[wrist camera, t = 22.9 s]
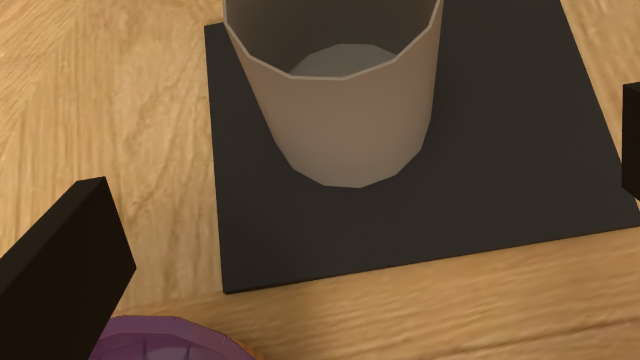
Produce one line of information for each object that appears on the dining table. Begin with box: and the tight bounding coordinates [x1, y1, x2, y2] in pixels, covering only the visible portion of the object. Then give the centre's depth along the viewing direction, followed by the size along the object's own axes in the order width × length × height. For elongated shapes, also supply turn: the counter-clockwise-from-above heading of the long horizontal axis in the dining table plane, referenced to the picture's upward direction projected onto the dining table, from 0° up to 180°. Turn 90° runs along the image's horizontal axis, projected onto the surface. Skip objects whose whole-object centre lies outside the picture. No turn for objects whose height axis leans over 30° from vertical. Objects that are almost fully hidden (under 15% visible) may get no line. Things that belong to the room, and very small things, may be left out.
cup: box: [223, 0, 444, 188], centre depth 27 cm, size 8×8×10 cm
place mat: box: [204, 0, 640, 294], centre depth 31 cm, size 20×16×1 cm
